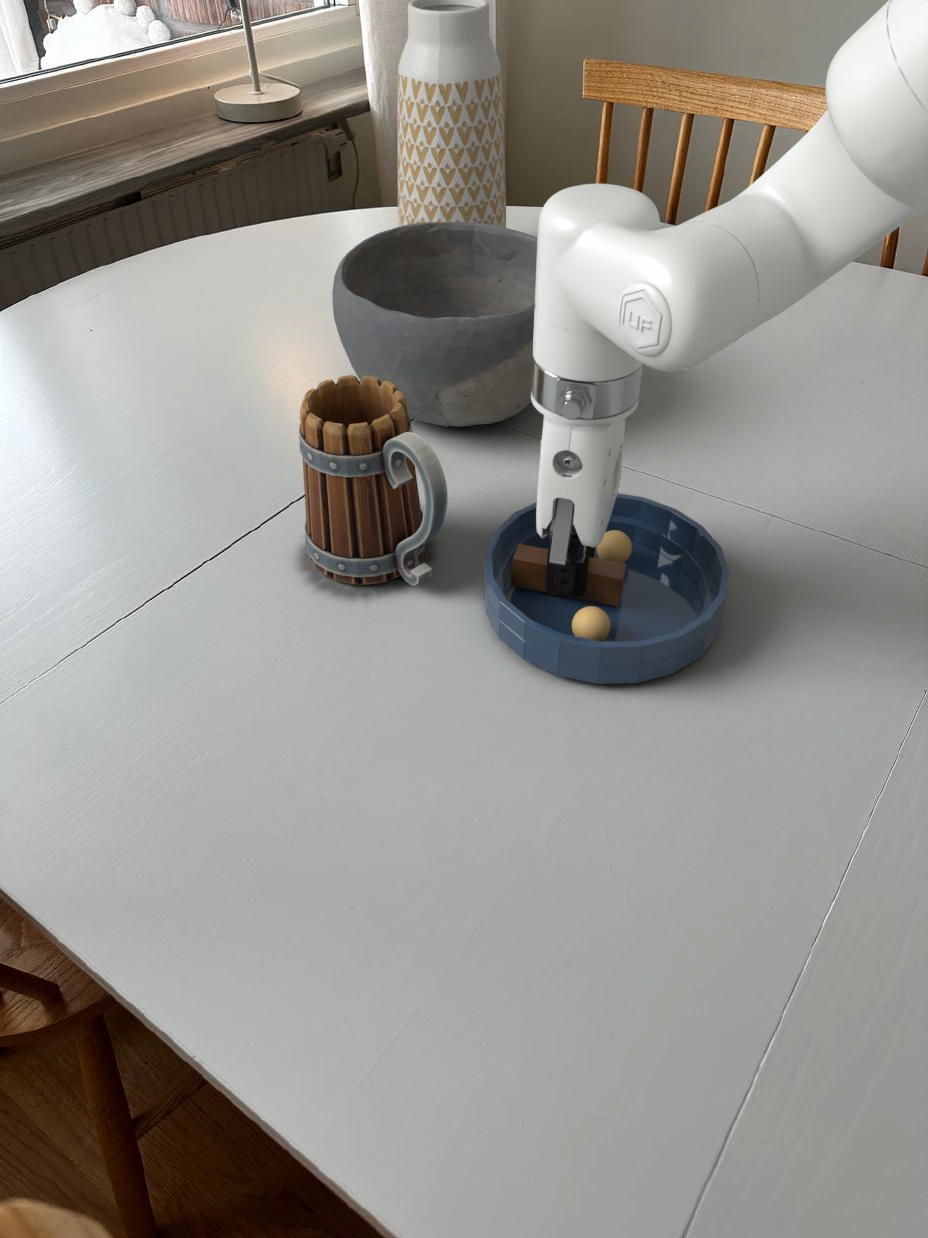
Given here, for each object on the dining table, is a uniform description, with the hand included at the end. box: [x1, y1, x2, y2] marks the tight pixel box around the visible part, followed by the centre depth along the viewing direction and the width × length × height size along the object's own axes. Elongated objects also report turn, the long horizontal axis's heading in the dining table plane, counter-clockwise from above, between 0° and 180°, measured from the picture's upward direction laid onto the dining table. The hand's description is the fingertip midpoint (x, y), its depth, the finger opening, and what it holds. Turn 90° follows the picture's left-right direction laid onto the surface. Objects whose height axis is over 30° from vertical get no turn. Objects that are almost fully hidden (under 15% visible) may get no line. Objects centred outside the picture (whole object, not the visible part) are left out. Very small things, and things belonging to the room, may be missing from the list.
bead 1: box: [572, 606, 611, 642], centre depth 76 cm, size 3×3×3 cm
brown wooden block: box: [512, 544, 627, 607], centre depth 80 cm, size 9×2×3 cm, turn 73°
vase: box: [396, 0, 507, 228], centre depth 118 cm, size 14×14×31 cm
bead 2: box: [596, 530, 632, 563], centre depth 83 cm, size 3×3×3 cm
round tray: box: [483, 492, 731, 685], centre depth 79 cm, size 19×19×4 cm
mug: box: [298, 374, 449, 586], centre depth 80 cm, size 16×11×15 cm
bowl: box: [332, 222, 538, 428], centre depth 100 cm, size 24×24×15 cm
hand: (569, 580), depth 80 cm, fingers closed on brown wooden block, 2 cm apart
